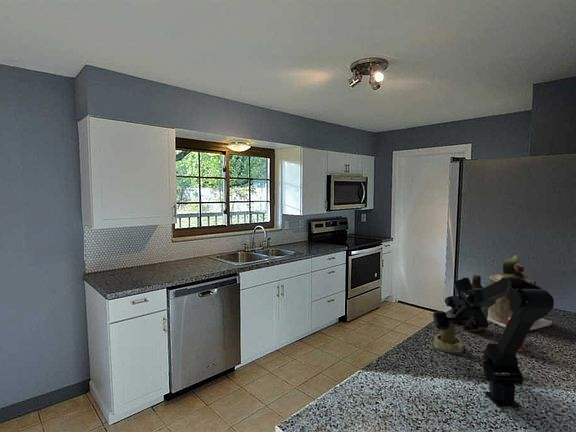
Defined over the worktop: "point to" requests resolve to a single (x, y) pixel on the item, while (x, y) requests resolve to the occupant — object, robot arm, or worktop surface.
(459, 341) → the collar socket
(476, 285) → the olive oil
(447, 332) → the cork
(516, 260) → the cookie jar
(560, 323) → the worktop surface
